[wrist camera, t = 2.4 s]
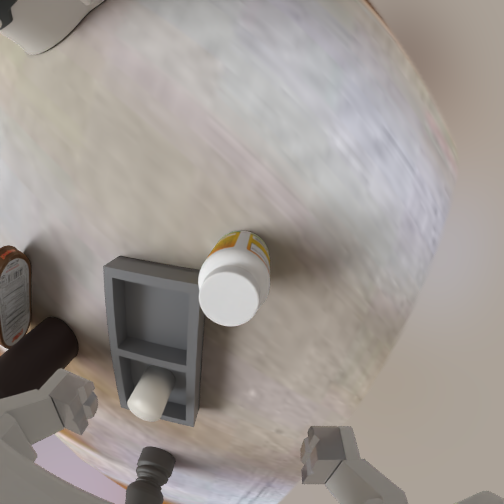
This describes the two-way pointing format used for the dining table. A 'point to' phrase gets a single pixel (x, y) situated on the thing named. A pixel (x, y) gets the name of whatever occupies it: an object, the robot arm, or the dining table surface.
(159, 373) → the shaker
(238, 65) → the dining table surface
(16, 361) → the vinegar
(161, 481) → the candle holder
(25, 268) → the tin
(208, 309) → the supplement bottle
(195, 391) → the caddy
